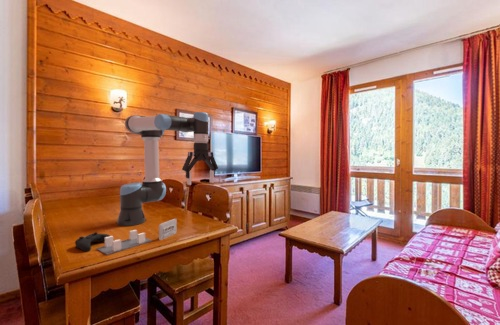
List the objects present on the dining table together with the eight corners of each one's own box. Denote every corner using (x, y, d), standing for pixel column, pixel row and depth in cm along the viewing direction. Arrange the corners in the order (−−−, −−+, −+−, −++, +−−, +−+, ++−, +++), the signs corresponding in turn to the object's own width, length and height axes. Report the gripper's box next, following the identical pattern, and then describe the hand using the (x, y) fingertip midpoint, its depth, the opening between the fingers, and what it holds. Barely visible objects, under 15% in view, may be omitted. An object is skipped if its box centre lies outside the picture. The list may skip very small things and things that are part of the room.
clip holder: (96, 249, 105) (96, 239, 105) (140, 236, 121) (140, 227, 121) (107, 255, 99) (106, 244, 99) (151, 241, 116) (151, 231, 115)
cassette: (174, 232, 129) (174, 218, 128) (177, 233, 128) (177, 218, 128) (158, 239, 118) (158, 224, 117) (161, 240, 117) (161, 224, 117)
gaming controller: (88, 242, 102) (69, 236, 104) (86, 256, 102) (67, 249, 104) (114, 232, 116) (97, 226, 118) (112, 244, 116) (95, 238, 118)
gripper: (182, 141, 114) (182, 186, 115) (224, 143, 131) (224, 182, 132) (175, 141, 119) (175, 184, 120) (216, 143, 137) (216, 181, 138)
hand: (200, 183), depth 126 cm, fingers open, 13 cm apart
